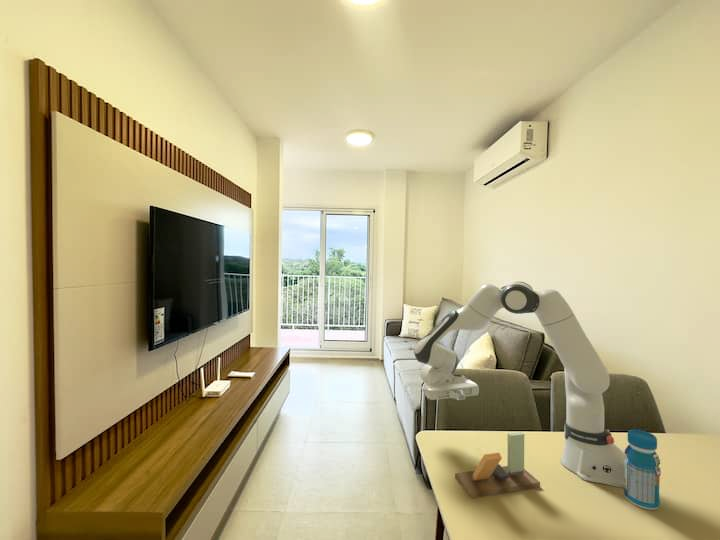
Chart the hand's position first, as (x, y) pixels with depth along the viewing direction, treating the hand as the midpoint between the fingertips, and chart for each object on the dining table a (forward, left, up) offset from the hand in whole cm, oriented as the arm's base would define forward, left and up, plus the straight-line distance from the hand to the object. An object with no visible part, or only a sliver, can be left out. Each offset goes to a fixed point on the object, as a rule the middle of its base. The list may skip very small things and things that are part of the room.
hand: (461, 397), depth 120 cm
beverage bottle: (-51, -10, -24) cm, 57 cm away
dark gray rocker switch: (-13, +3, -22) cm, 26 cm away
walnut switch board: (-13, +4, -23) cm, 27 cm away
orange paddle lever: (-8, +8, -21) cm, 24 cm away
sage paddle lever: (-18, -1, -21) cm, 27 cm away
